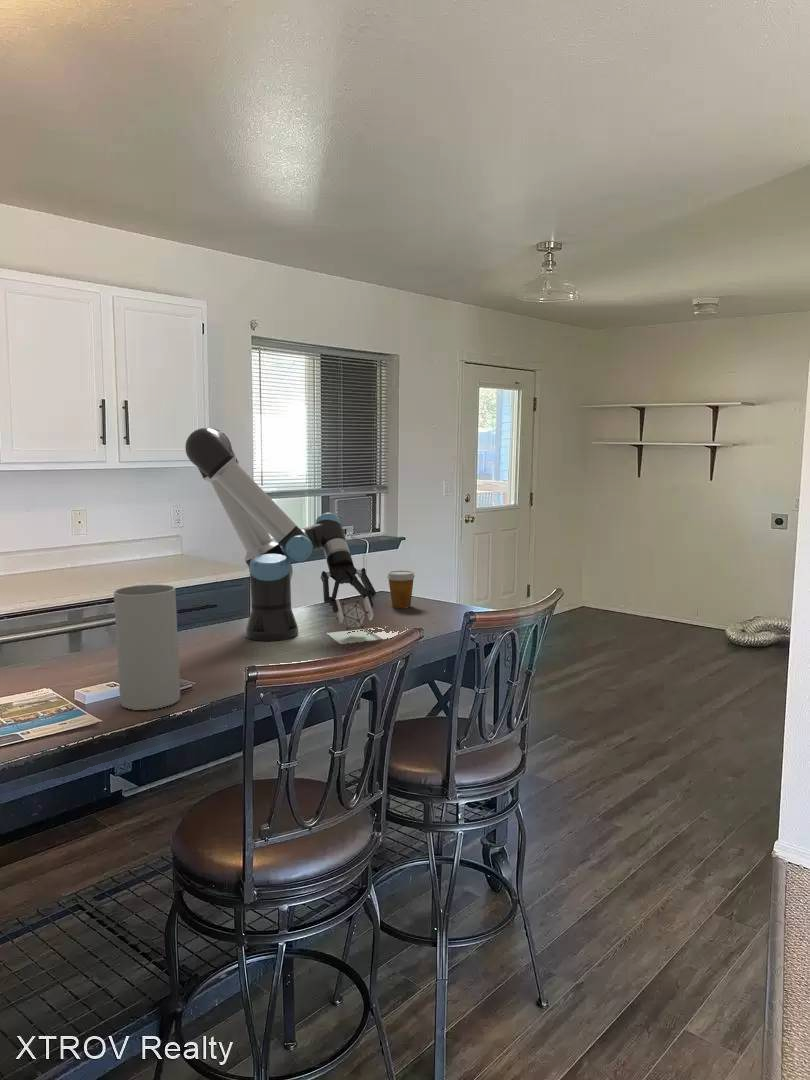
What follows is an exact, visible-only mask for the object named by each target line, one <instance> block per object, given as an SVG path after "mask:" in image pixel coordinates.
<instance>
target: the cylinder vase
mask: <svg viewBox="0 0 810 1080" xmlns="http://www.w3.org/2000/svg"><path fill="white" fill-rule="evenodd" d="M176 598H177V596H176V587H175V586H173V585H169V584H141V585H131V586H126V587H121V588H118V589H115V590H114V591H113V599H114V617H115V633H116V635H115V636H116V651H117V666H118V667H117V669H118V684H119V685H118V687H119V702H120V705H121V707H123V708H124V707H125V708H124V709H126V708H128V709H127V710H129V709H137V710H145V709H146V710H148V709H156V710H159V709H158V708H161V709H163V708H162V707H165V708H167V707H166V706H168V707H170V706H169V705H171V706H173V705H175V704H177V703H178V702H179V700H180V699H181V681H180V661H179V660H180V659H179V640H178V639H179V638H178V618H177V599H176ZM174 703H175V704H174ZM172 704H173V705H172ZM148 711H149V710H148Z"/></svg>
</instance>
